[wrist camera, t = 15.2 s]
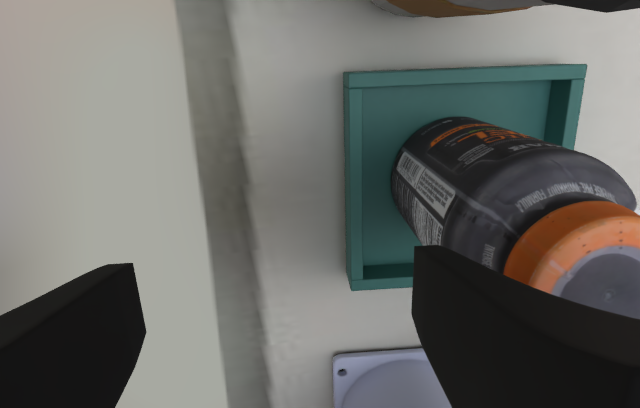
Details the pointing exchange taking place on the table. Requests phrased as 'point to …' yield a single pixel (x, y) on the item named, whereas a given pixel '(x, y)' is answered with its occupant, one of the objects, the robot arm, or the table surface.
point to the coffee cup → (492, 6)
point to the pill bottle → (523, 210)
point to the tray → (416, 112)
